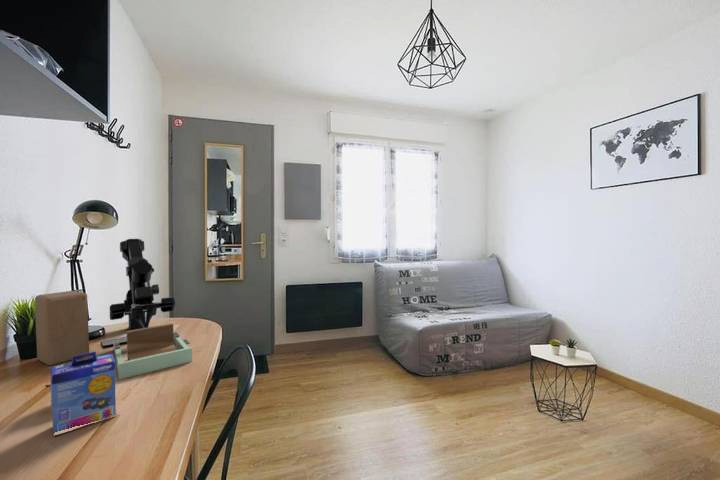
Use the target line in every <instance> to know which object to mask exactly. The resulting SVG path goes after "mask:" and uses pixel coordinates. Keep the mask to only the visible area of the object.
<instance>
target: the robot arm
mask: <svg viewBox="0 0 720 480" xmlns="http://www.w3.org/2000/svg"><path fill="white" fill-rule="evenodd" d="M145 248H146V247H145V241H144V240H142V239H141V238H128V239H125V240H123V241H120V242H119V253H121V255H122V258H123V259H124V260H125V261H126V263H127V266H125V274H126V277H128V285H129V289H128V290H127V292H126V295H125V299H124V300H123V302H121V303H119V302H118V303H114V304H113V303H112V304H111V305H109V320H111V321H115V320H120V319H123V318H124V317H125V316H128V327H127V328H125V331H126V332H127V331H130V330H136V329H142V328H148V327H150V323H151V319H152V318H153V317H154V316H156V315H157V311H158V310H157V309H160V312H163V313H168V312H173V311H174V310H175V306H176V300H175V297H173V296H169V297H167V296H166V297H162V298H161V299H160V301H158V302H153V301H155V300H154V299H155V298H154V295H158V294H159V293H160V286H159V284H157V283H156V284H152V285H151V282H150V281H151V278H152V274H153V273H154V272H155V268H154V267H153V265H152V264H151V263H150V262H149V260H147V259H146V258H144V256H143V252H144V251H145Z"/></svg>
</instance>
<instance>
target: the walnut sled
mask: <svg viewBox="0 0 720 480" xmlns="http://www.w3.org/2000/svg"><path fill="white" fill-rule="evenodd" d="M173 330H174V324H173V323H167V324H160V325H154V326H148V328H142V329H136V330H127V331H126V347H127V348H126V349H127V350H126V351H127V353H126V354H127V361H130V360H134V359H139V358H143V357H148V356H153V355H157V354H162V353H166V352H171V351H175V350H178V349H177V347H176V346H175V345H174V335H173Z"/></svg>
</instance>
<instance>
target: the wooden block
mask: <svg viewBox="0 0 720 480" xmlns="http://www.w3.org/2000/svg"><path fill="white" fill-rule="evenodd" d="M88 304H89V303H88V294H87V292H83V291H77V290H67V291H60V292H59V291H58V292H52V293H43V294H39V295H36V296H35V298H34V311H35V312H34V313H35V314H34V316H35V337H36V358H37V360H38V361H40V362H42V363H43V364H45V365H47V366H53V365H54V366H55V365H59V364H62V363H64V362H68V361H72V360H73V356H77V355H81V354H86V353H90V334H89V333H90V331H89V307H88V306H89V305H88Z"/></svg>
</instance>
